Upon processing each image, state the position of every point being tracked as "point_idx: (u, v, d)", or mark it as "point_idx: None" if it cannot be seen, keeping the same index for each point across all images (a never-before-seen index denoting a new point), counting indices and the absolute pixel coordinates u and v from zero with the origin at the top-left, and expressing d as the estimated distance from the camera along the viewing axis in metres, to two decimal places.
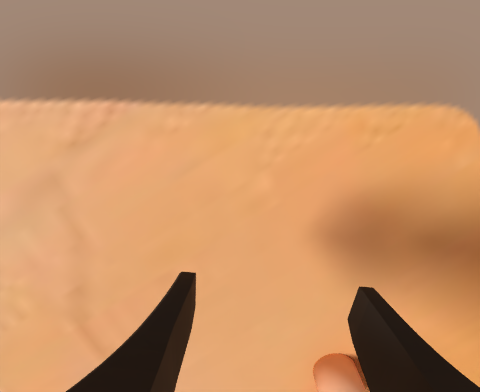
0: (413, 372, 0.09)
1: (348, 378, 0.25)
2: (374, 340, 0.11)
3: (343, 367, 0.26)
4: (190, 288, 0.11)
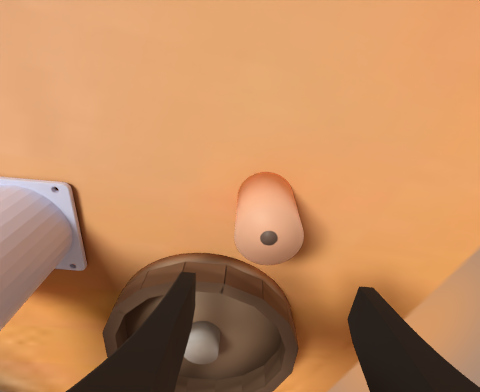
0: (413, 372, 0.09)
1: (294, 201, 0.19)
2: (374, 340, 0.11)
3: (291, 193, 0.20)
4: (190, 288, 0.11)
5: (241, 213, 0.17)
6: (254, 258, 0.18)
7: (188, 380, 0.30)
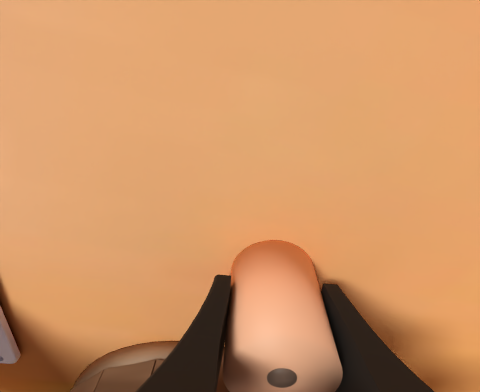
0: (362, 368, 0.09)
1: (320, 299, 0.12)
2: (333, 337, 0.11)
3: (314, 278, 0.12)
4: (229, 291, 0.11)
5: (234, 333, 0.10)
6: None
7: None
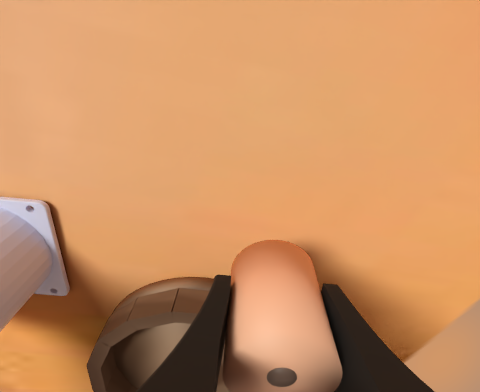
0: (362, 368, 0.09)
1: (320, 298, 0.12)
2: (333, 337, 0.11)
3: (314, 278, 0.12)
4: (229, 291, 0.11)
5: (234, 333, 0.10)
6: None
7: None
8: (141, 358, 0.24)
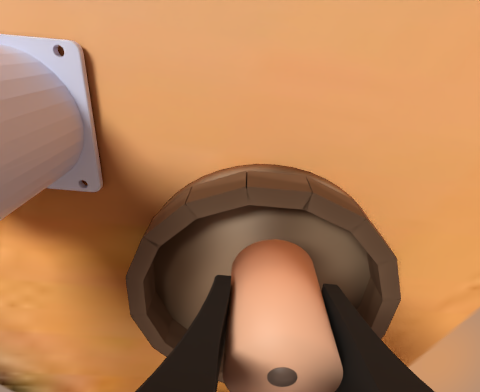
0: (362, 368, 0.09)
1: (321, 299, 0.12)
2: None
3: (315, 278, 0.12)
4: (229, 291, 0.11)
5: (236, 331, 0.10)
6: None
7: None
8: (187, 280, 0.20)
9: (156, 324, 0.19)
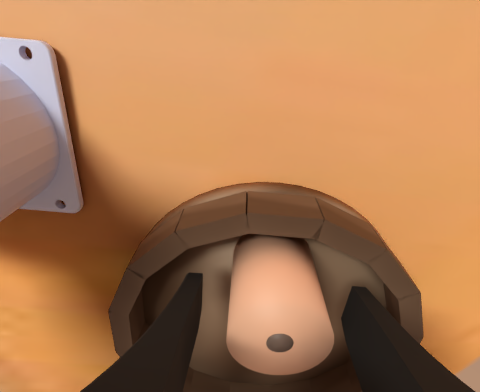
0: (403, 371, 0.09)
1: (316, 276, 0.13)
2: (366, 339, 0.11)
3: (310, 259, 0.14)
4: (198, 289, 0.11)
5: (238, 302, 0.11)
6: (255, 366, 0.12)
7: (230, 385, 0.20)
8: None
9: None
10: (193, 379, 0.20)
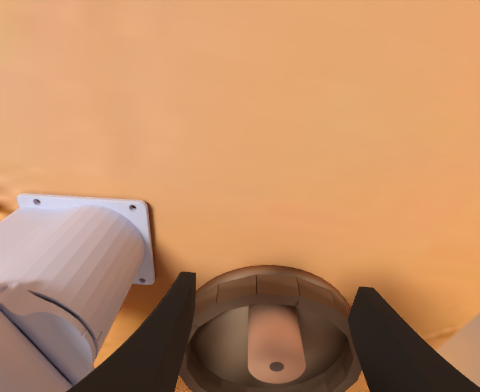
0: (413, 372, 0.09)
1: (297, 326, 0.22)
2: (374, 340, 0.11)
3: (294, 314, 0.23)
4: (190, 288, 0.11)
5: (254, 345, 0.21)
6: (264, 379, 0.21)
7: (246, 388, 0.30)
8: (214, 340, 0.27)
9: (193, 373, 0.27)
10: (222, 385, 0.29)
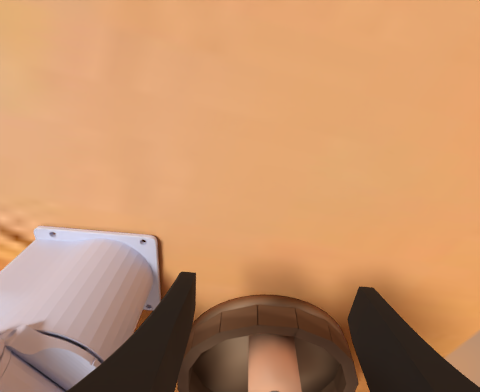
0: (413, 372, 0.09)
1: (294, 355, 0.24)
2: (374, 340, 0.11)
3: (292, 343, 0.25)
4: (190, 288, 0.11)
5: (254, 374, 0.22)
6: None
7: None
8: (215, 362, 0.28)
9: None
10: None
